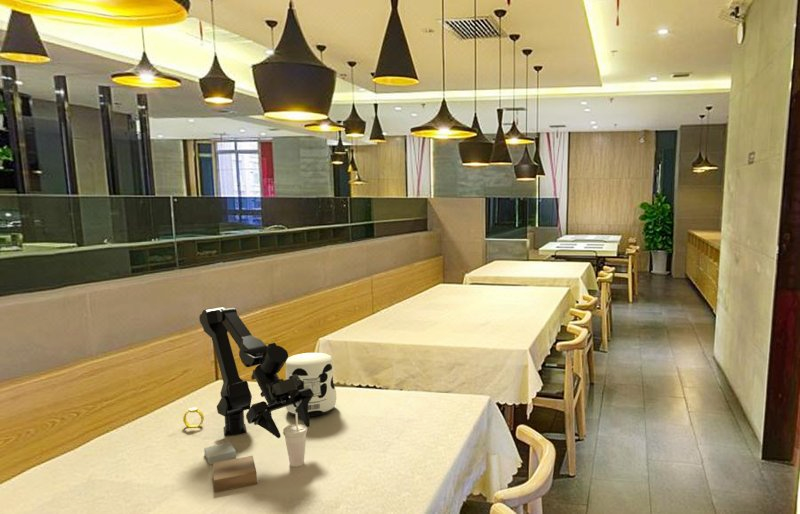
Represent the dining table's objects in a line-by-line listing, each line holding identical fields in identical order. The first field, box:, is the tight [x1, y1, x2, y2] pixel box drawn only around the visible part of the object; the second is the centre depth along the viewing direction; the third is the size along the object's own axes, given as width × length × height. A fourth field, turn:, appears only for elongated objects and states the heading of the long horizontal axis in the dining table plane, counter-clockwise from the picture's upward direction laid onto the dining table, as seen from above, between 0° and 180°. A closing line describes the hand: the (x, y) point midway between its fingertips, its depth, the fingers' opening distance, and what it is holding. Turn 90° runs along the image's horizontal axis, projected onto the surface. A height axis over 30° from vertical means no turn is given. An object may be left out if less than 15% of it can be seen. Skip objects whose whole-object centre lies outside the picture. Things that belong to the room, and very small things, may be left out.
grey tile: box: [203, 441, 237, 465], centre depth 151 cm, size 7×7×2 cm
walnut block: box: [212, 455, 258, 493], centre depth 138 cm, size 10×10×3 cm
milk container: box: [285, 352, 337, 417], centre depth 183 cm, size 17×17×18 cm
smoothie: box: [282, 412, 308, 468], centre depth 145 cm, size 6×6×14 cm
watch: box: [182, 407, 205, 428], centre depth 173 cm, size 6×3×6 cm, turn 91°
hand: (294, 432), depth 145 cm, fingers open, 9 cm apart
